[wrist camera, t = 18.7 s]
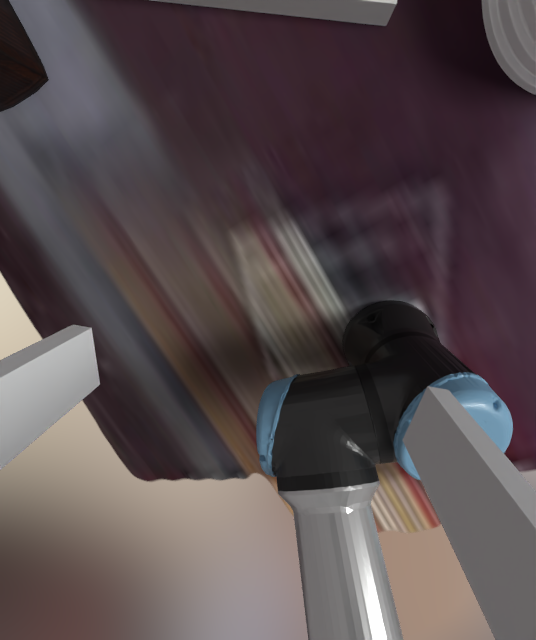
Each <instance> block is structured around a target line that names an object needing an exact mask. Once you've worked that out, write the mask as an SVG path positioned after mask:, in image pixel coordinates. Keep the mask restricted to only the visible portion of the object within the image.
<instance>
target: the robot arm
mask: <svg viewBox="0 0 536 640" xmlns="http://www.w3.org/2000/svg"><path fill="white" fill-rule="evenodd" d="M343 351H344V354H345V357H346V360H347V362H348V364H349V365H350V366H348V367H343V368H337V369H332V370H326V371H321V372H315V373H310V374H304V375H300V374H297V375H294V376H293V377H289V378H285V379H281V380H277V381H274V382H272V383H271V384H269V385H268V386H267V388H266V389H265V391H264V393H263V395H262V397H261V400H260V404H259V409H258V416H257V450H258V453H259V454H260V464H261V467H262V469H263V471H264V472H265V473H266V474H268V475H270V476H272V477H277V486H278V493H279V495H280V496H281V497H282V498H283V499H284V500H285V501H286V502H287V503H288V504H289V505H290V506H291V508H292V510H293V512H294V520H295V529H296V538H297V546H298V555H299V564H300V572H301V581H302V589H303V598H304V607H305V615H306V623H307V632H308V640H403V636H402V632H401V628H400V623H399V619H398V615H397V611H396V607H395V603H394V599H393V595H392V591H391V586H390V582H389V578H388V574H387V570H386V566H385V562H384V558H383V554H382V549H381V545H380V541H379V537H378V533H377V529H376V525H375V521H374V516H373V512H372V508H371V500H372V497H373V495H374V493H375V492H376V490H377V488H378V486H379V484H380V482H379V479H378V475H377V471H376V467H375V465H376V464H381V463H391V462H398V463H399V464H400V466H401V467H402V468H403V469H404V470H405V471H406V472H407V473H408V474H409V475H411V476H412V477H413V478H415V479H418V480H421V481H422V483H423V485H424V487H425V490H426V492H427V494H428V496H429V498H430V500H431V502H432V505H433V507H434V509H435V511H436V513H437V515H438V517H439V520H440V522H441V524H442V526H443V528H444V530H445V532H446V534H447V537H448V539H449V541H450V543H451V545H452V547H453V549H454V552H455V554H456V556H457V558H458V560H459V562H460V565H461V567H462V569H463V571H464V573H465V575H466V577H467V580H468V582H469V584H470V586H471V588H472V590H473V592H474V595H475V597H476V599H477V601H478V603H479V605H480V607H481V610H482V612H483V614H484V616H485V618H486V620H487V623H488V625H489V627H490V629H491V631H492V633H493V635H494V637H495V640H536V491H535V489H534V488H533V487H532V486H531V485H530V484H529V483H528V481H527V480H526V479H525V478H524V477H523V476H522V474H521V473H520V472H519V471H518V470H517V469H516V467H515V466H514V465H513V464H512V463H511V462H510V460H509V459H508V458H507V457H506V456H505V455H504V452H505V451H506V449H507V447H508V445H509V443H510V440H511V437H512V431H513V423H512V418H511V414H510V412H509V410H508V408H507V406H506V405H505V403H504V402H503V401H502V400H501V399H500V398H499V397H498V395H497V394H496V393H495V392H494V391H493V390H492V389H491V388H490V387H489V386H488V383H487V382H486V381H485V380H484V379H483V378H481V377H480V376H478V375H476V374H475V373H474V372H472V371H471V370H470V369H469V368H468V367H467V366H466V365H465V364H463V363H462V362H461V361H460V360H459V359H458V358H457V357H455V356H454V355H453V354H452V353H451V352H450V351H449V350H448V349H446V348H445V347H444V346H443V345H442V344H441V343H440V341H439V338H438V335H437V331H436V328H435V326H434V324H433V322H432V321H431V320H430V318H429V317H428V316H427V315H426V314H424V313H423V312H422V311H421V310H419V309H418V308H417V307H415V306H413V305H411V304H408V303H405V302H401V301H384V302H379V303H375V304H373V305H370V306H368V307H366V308H364V309H363V310H361V311H360V312H359V313H357V314H356V315H355V316H354V317H353V318H352V320H351V321H350V322H349V324H348V325H347V327H346V329H345V332H344V335H343ZM99 385H100V381H99V375H98V368H97V362H96V355H95V348H94V342H93V335H92V328H89V327H83V326H77V325H72V326H69V327H67V328H65V329H63V330H61V331H59V332H57V333H55V334H53V335H51V336H49V337H47V338H45V339H43V340H41V341H39V342H37V343H35V344H33V345H31V346H28V347H26V348H24V349H22V350H20V351H18V352H16V353H14V354H12V355H10V356H8V357H6V358H4V359H2V360H0V470H1V469H2V468H3V467H4V466H5V465H7V464H8V463H9V462H10V461H11V460H12V459H14V458H15V457H16V456H17V455H18V454H19V453H21V452H22V451H23V450H24V449H25V448H26V447H28V446H29V445H30V444H31V443H32V442H33V441H35V440H36V439H37V438H38V437H39V436H40V435H42V434H43V433H44V432H45V431H46V430H47V429H48V428H50V427H51V426H52V425H53V424H54V423H56V422H57V421H58V420H59V419H60V418H61V417H63V416H64V415H65V414H66V413H67V412H68V411H70V410H71V409H72V408H73V407H74V406H75V405H77V404H78V403H79V402H80V401H81V400H82V399H84V398H85V397H86V396H87V395H88V394H89V393H91V392H92V391H93V390H94V389H95V388H96V387H98V386H99Z"/></svg>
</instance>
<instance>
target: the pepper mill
mask: <svg viewBox="0 0 536 640" xmlns="http://www.w3.org/2000/svg"><path fill="white" fill-rule="evenodd" d="M48 80H49V79H48V77H47V74H46V71H45V69H44V66H43V64H42V62H41V60H40V58H39V56H38V54H37V52H36V50H35V48H34V46H33V44H32V42H31V41H30V39H29V37H28V35H27V33H26V31H25V29H24V27H23V25H22V24H21V22H20V20H19V18H18V16H17V15H16V13H15V11H14V9H13V7H12V6H11V4H10V2H9V0H0V111H3V110H5V109H8V108H11V107H13V106H15V105H17V104H18V103H20V102H21V101H23V100H25V99H26V98H28V97H29V96H31V95H32V94H34V93H36V92H37V91H38V90H39V89H40V88H41V87H42V86H43V85H44V84H45V83H46V82H47V81H48Z"/></svg>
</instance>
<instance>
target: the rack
mask: <svg viewBox="0 0 536 640" xmlns="http://www.w3.org/2000/svg"><path fill="white" fill-rule="evenodd" d="M151 1H160V2H169V3H178V4H187V5H197V6H206V7H215V8H224V9H233V10H242V11H252V12H261V13H270V14H279V15H288V16H297V17H307V18H316V19H325V20H334V21H343V22H352V23H362V24H371V25H380V26H386V25H387V23H388V21H389V19H390V17H391V15H392V13H393V10H394V8H395V6H396V4H397V0H151Z"/></svg>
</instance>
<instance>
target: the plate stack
mask: <svg viewBox="0 0 536 640" xmlns="http://www.w3.org/2000/svg"><path fill="white" fill-rule="evenodd" d="M482 13H483V21H484V27H485V31H486V35H487V39H488V42H489V45H490V48H491V50H492V52H493V55H494V57H495V59H496V60H497V62H498V64H499V65H500V67H501V68H502V70H503V71H504V72H505V73H506V75H507V76H508V77H509V78H510V79H511V80H512V81H513V82H515V83H516V84H517V85H518V86H520V87H521V88H523V89H524V90H526V91H528V92H530V93H532V94H534V95H536V0H482Z"/></svg>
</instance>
